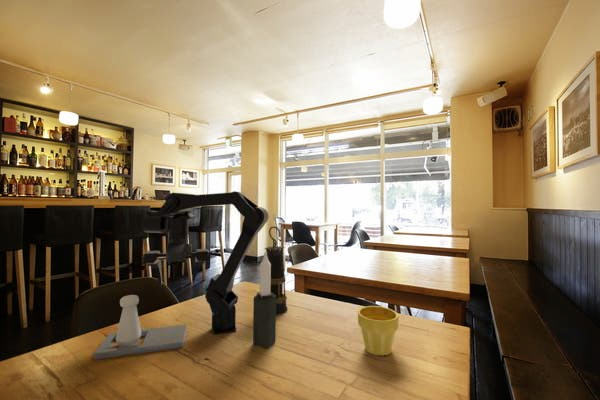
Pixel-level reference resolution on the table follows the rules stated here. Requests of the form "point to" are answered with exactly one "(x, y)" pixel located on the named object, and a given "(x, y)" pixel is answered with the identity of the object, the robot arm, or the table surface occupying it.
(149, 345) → the rail plate
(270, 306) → the candle
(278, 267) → the lantern
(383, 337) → the plant pot
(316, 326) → the table surface
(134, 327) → the salt shaker
